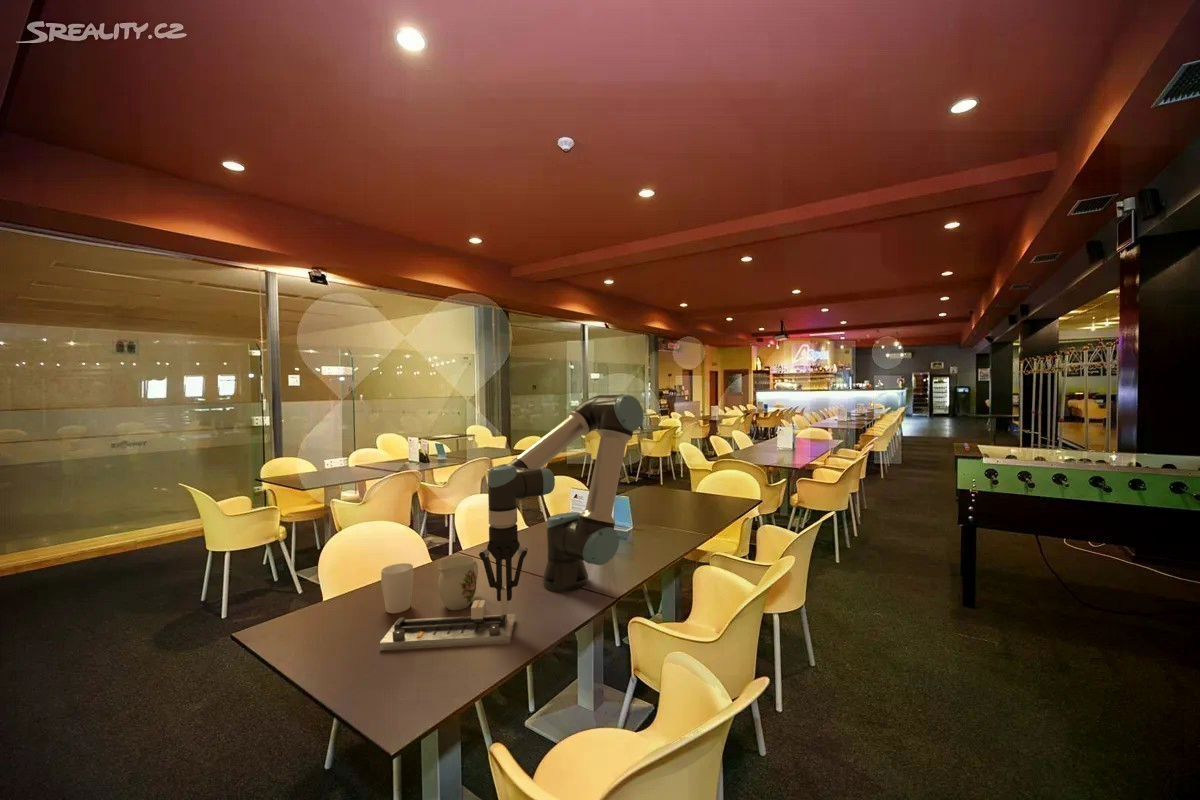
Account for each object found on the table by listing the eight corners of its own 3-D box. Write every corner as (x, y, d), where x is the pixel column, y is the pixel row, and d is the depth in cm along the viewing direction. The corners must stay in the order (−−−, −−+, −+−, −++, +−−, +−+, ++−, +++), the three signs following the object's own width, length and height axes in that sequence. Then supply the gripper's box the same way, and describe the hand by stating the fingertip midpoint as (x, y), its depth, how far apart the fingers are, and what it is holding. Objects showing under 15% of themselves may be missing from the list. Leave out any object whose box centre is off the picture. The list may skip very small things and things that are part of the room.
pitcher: (492, 594, 149) (491, 551, 149) (457, 619, 132) (455, 571, 132) (463, 590, 152) (462, 548, 152) (425, 614, 135) (424, 567, 135)
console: (515, 620, 130) (514, 606, 130) (509, 643, 118) (509, 627, 118) (397, 627, 128) (397, 612, 128) (379, 650, 116) (379, 634, 116)
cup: (402, 616, 135) (401, 575, 135) (374, 614, 136) (373, 573, 136) (420, 603, 143) (419, 563, 143) (394, 601, 145) (393, 562, 145)
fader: (486, 619, 127) (485, 599, 127) (483, 627, 123) (482, 606, 123) (474, 619, 127) (474, 599, 127) (471, 628, 122) (470, 607, 122)
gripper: (528, 519, 129) (530, 605, 129) (481, 521, 128) (482, 607, 128) (526, 527, 122) (528, 617, 122) (475, 529, 121) (477, 620, 121)
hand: (504, 612), depth 125 cm, fingers closed
